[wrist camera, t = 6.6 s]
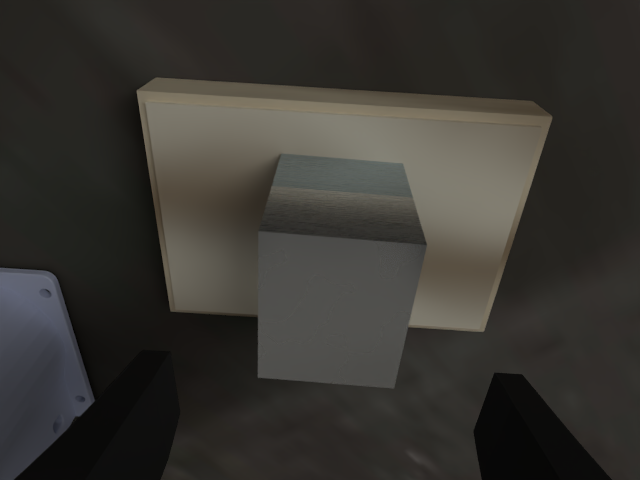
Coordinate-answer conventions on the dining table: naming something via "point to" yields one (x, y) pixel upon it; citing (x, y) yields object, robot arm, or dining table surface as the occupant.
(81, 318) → the dining table surface
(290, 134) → the cream flat block
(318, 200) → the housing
